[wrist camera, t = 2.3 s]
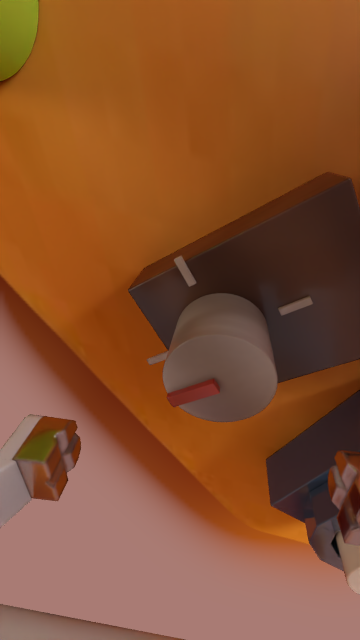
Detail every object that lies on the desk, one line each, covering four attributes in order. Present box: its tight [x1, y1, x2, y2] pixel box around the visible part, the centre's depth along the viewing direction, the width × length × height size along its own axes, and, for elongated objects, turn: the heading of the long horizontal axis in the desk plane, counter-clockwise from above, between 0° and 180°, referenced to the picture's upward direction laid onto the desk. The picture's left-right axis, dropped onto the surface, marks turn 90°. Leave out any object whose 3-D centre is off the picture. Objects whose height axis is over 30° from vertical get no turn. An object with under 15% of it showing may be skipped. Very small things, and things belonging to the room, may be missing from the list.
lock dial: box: [163, 293, 278, 422], centre depth 13 cm, size 4×4×4 cm
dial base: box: [128, 172, 360, 383], centre depth 15 cm, size 11×9×3 cm
